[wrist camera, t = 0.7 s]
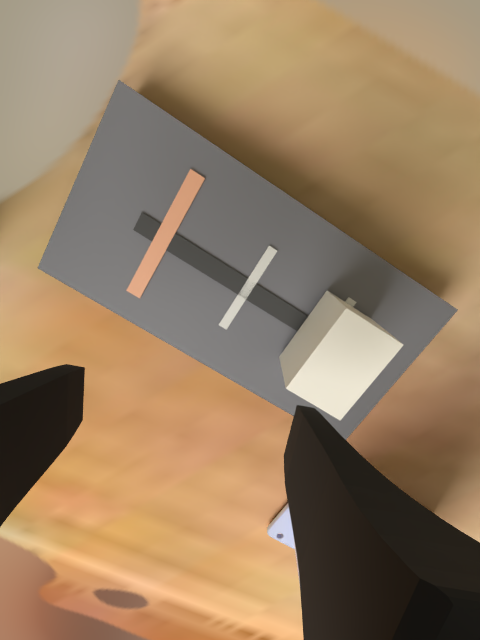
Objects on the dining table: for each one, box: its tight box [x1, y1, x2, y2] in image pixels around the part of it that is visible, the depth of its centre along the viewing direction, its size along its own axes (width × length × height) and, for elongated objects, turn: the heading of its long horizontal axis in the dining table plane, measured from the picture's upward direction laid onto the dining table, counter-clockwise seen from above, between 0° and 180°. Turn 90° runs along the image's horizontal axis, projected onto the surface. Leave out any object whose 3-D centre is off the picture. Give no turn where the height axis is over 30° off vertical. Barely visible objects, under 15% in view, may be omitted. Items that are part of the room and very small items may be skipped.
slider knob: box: [279, 291, 403, 420], centre depth 16 cm, size 3×4×4 cm
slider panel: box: [38, 80, 457, 440], centre depth 18 cm, size 20×10×2 cm, turn 58°
